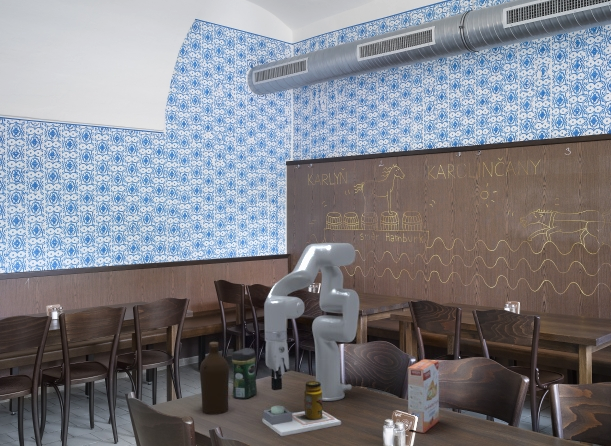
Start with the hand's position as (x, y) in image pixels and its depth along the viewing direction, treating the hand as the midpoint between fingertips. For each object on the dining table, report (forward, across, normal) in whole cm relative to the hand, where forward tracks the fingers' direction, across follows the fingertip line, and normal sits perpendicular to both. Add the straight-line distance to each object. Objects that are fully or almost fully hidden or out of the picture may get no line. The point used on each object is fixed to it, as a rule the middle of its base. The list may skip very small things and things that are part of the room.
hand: (276, 389), depth 214 cm
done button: (+9, 0, 0) cm, 9 cm away
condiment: (+10, -4, -11) cm, 16 cm away
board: (+12, -4, -7) cm, 14 cm away
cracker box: (+12, -27, -42) cm, 51 cm away
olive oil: (+12, +25, +14) cm, 31 cm away
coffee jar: (+12, +37, -2) cm, 39 cm away
